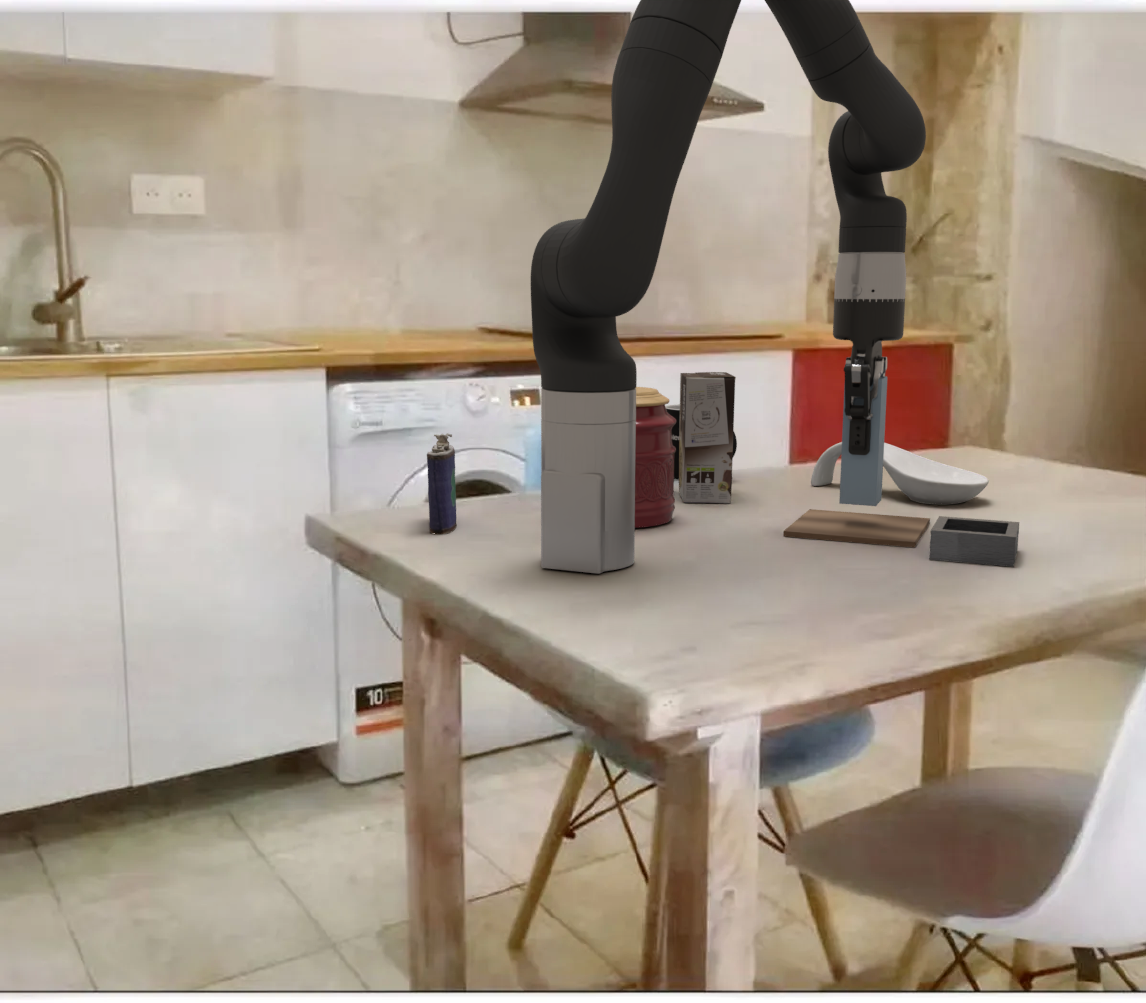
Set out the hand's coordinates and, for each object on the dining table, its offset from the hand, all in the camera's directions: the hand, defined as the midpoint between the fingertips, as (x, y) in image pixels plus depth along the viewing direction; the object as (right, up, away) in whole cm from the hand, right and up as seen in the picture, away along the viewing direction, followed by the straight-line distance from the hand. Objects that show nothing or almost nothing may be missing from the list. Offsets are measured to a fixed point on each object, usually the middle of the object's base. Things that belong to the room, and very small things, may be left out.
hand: (862, 450), depth 129 cm
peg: (0, -6, +1) cm, 6 cm away
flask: (-47, -9, +3) cm, 48 cm away
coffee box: (-15, -5, +22) cm, 27 cm away
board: (0, -9, +2) cm, 9 cm away
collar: (+9, -11, -11) cm, 18 cm away
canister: (-27, -8, +7) cm, 29 cm away
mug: (-14, -2, +37) cm, 40 cm away
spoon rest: (+10, -5, +24) cm, 27 cm away
